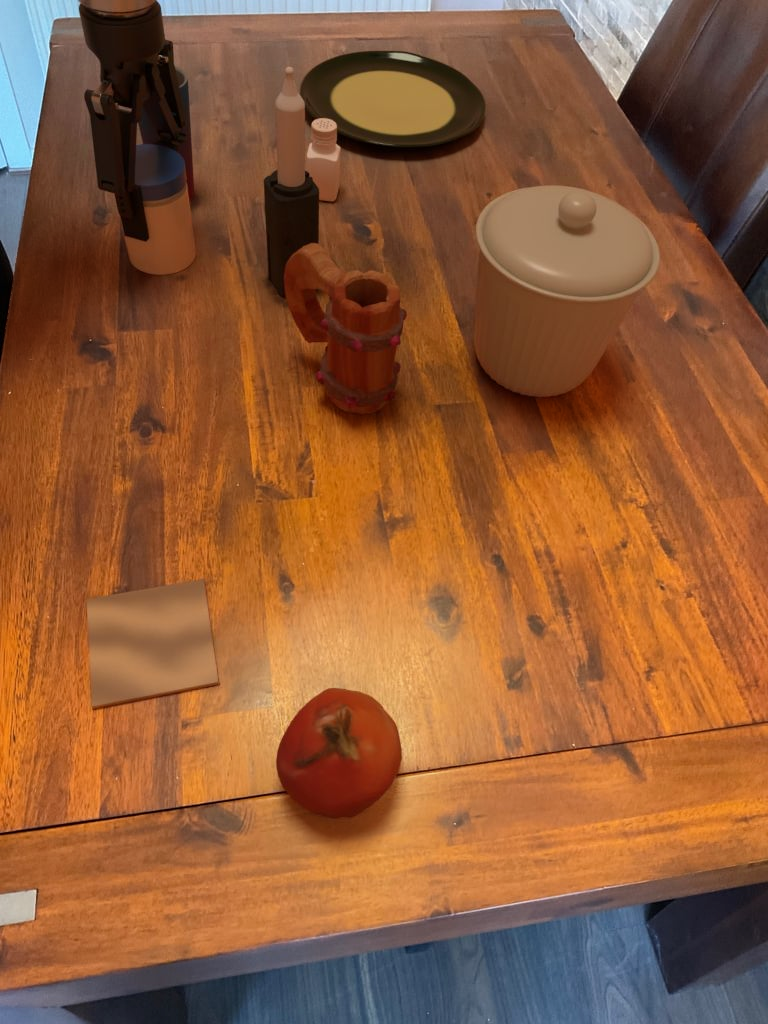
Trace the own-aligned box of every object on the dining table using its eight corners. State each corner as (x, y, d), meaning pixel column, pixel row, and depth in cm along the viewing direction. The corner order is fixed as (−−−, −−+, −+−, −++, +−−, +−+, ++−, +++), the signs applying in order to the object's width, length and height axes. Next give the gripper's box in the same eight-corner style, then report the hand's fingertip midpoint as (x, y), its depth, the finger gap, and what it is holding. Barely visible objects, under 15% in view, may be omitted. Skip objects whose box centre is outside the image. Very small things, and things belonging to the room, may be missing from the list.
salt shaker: (339, 187, 109) (342, 118, 101) (335, 203, 106) (338, 134, 99) (310, 183, 109) (310, 114, 101) (305, 200, 106) (305, 130, 99)
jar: (114, 260, 96) (96, 178, 87) (155, 226, 100) (141, 146, 92) (170, 283, 94) (156, 202, 86) (209, 248, 99) (199, 168, 90)
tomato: (400, 718, 65) (410, 677, 59) (393, 836, 60) (404, 805, 53) (286, 707, 65) (284, 665, 58) (270, 825, 60) (265, 792, 53)
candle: (265, 274, 97) (254, 58, 76) (303, 264, 98) (303, 50, 78) (281, 299, 94) (274, 84, 74) (321, 289, 96) (325, 75, 76)
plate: (309, 57, 129) (309, 40, 127) (480, 74, 131) (482, 58, 128) (290, 150, 113) (290, 133, 111) (486, 170, 114) (489, 153, 112)
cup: (192, 213, 103) (177, 96, 90) (140, 205, 103) (118, 86, 91) (207, 184, 107) (195, 68, 94) (157, 176, 107) (138, 59, 95)
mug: (415, 399, 86) (433, 286, 74) (364, 439, 82) (374, 326, 70) (318, 332, 91) (320, 215, 79) (266, 366, 88) (259, 249, 75)
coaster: (87, 601, 69) (86, 598, 69) (204, 581, 71) (204, 578, 71) (92, 709, 64) (91, 706, 63) (219, 684, 66) (218, 681, 65)
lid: (109, 202, 86) (106, 186, 85) (111, 160, 91) (108, 144, 90) (188, 200, 88) (185, 184, 86) (185, 159, 92) (183, 143, 91)
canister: (428, 324, 94) (455, 154, 77) (564, 300, 98) (618, 134, 81) (489, 436, 84) (536, 270, 67) (637, 404, 89) (716, 241, 72)
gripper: (97, 58, 68) (141, 277, 87) (205, -31, 80) (223, 177, 99) (19, 38, 69) (78, 259, 88) (137, -47, 81) (167, 162, 100)
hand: (155, 215), depth 93 cm, fingers closed on lid, 8 cm apart
